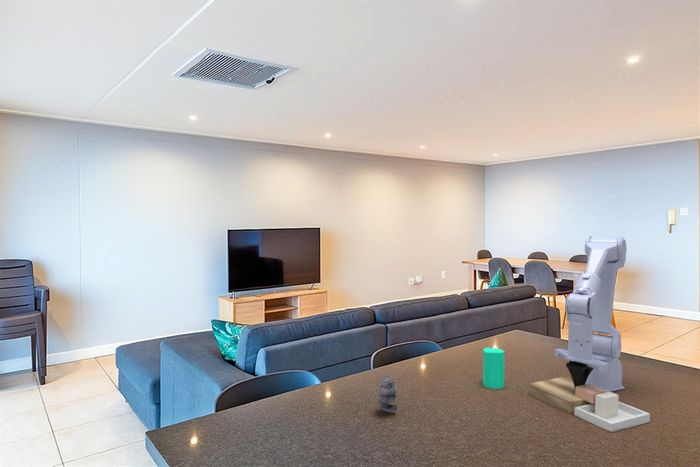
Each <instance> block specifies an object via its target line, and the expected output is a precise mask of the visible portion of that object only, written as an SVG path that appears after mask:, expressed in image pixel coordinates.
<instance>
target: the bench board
mask: <svg viewBox="0 0 700 467" xmlns="http://www.w3.org/2000/svg"><path fill="white" fill-rule="evenodd" d="M527 386H528V389H527V391H528V394H527V395H528V396H531V397H534V398H535V399H538V400H540V401H542V402H544V403H546V404H548V405H550V406H553V407H555V408H557V409H559V410H562V411H564V412H565V413H568V414H569V415H572V414H575V407H579V406H583V405H587V404H592V403H590V402H588V401H586V400H583V399H581V398H579V397H577V396H575V393H576V390H575V387H574V383H573V379H572V378H570V377H566V376H560V377H557V378H551V379H545V380H542V381H536V382H530V383H528V384H527Z"/></svg>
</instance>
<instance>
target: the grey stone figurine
mask: <svg viewBox="0 0 700 467" xmlns="http://www.w3.org/2000/svg"><path fill="white" fill-rule="evenodd" d="M397 392H398V388H397V383H395V379H394V378H393V377H391V375H389V374H386V376H382V377H381V380H380V386H379V388H378V393H379V395H378V396H377V399H376V400H377V404H378V406H379V408H380V409H381V410H382V411H384V412H386V413H397V412H398V405H397V404H396V403H394V402H395V401H396V398H397Z"/></svg>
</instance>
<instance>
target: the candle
mask: <svg viewBox="0 0 700 467" xmlns="http://www.w3.org/2000/svg"><path fill="white" fill-rule="evenodd" d="M482 351H483V352H482V353H483V360H482V361H483V363H482V367H483V368H482V372H483V373H482V385H483V387H485V388H488V389H493V390H501V389H504V387H505V350H503V349H501V348H499V347H496V348H495V347H493V348H492V347H486V348H485V347H484V348H483V350H482Z"/></svg>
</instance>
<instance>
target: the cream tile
mask: <svg viewBox="0 0 700 467" xmlns="http://www.w3.org/2000/svg"><path fill="white" fill-rule="evenodd" d="M618 401H619V394H617V393H615V392H612V391H611V392H605V393H601V394H597V395H596V397H595V415H597V416H600V417H602V418H604V419H605V418H609V417H612V416H616V415H618Z"/></svg>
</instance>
